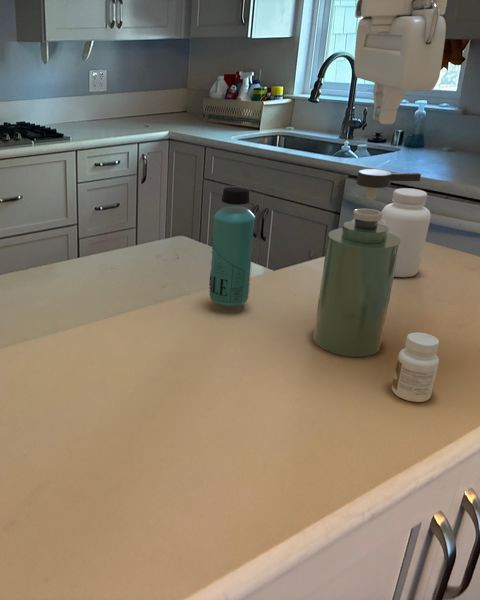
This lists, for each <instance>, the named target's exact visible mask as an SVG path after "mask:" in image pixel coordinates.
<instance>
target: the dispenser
mask: <svg viewBox="0 0 480 600" xmlns="http://www.w3.org/2000/svg"><path fill="white" fill-rule="evenodd" d="M382 217H383V213H382V210H377V209H373V208H356V209H354V210H353V212H352V218H353V219H355V221H353V220H349V221H346V222H344V223H343V225H342V227H340V228H334V229H332V230H331V231H329V232H328V234H327V241H326V247H325V255H324V261H323V269H322V276H321V281H320V289H319V295H318V302H317V308H316V315H315V321H314V322H315V323H314V329H313V337H312V338H313V341H314V343H315V344H316V345H317V346H318V347H319V348H321V349H322V350H325V351H327V352H328V353H331V354H335V355H338V356H342V357H351V358H363V357H370V356H373V355H375V354H377V353H378V352H379V351H380V349H381V345H382V339H383V334H384V329H385V324H386V320H387V315H388V309H389V304H390V299H391V294H392V289H393V283H394V279H395V277H394V274H395V269H396V264H397V259H398V254H399V249H400V243H401V240H400V239H399V238H398V237H397V236H395V235H393V234H391V233H388V230H389V228H388V227H387V226H385V225H383V224H380V223H378V221H380V220H382Z"/></svg>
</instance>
